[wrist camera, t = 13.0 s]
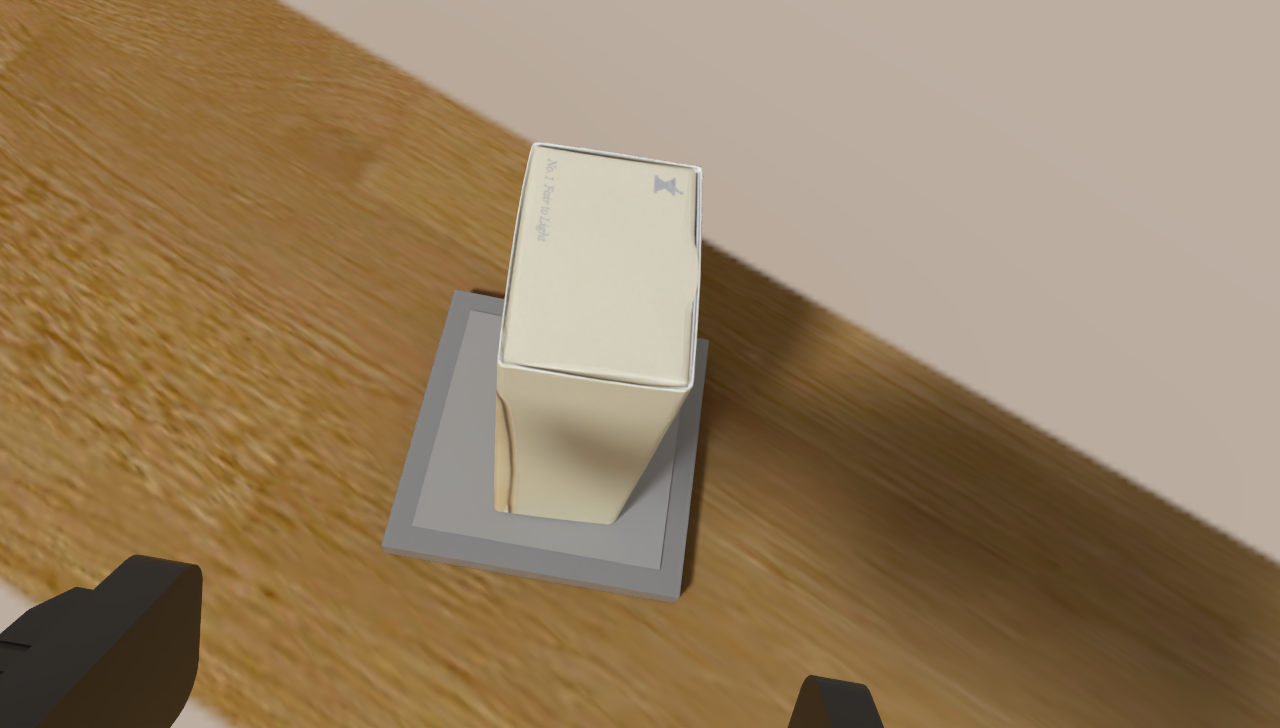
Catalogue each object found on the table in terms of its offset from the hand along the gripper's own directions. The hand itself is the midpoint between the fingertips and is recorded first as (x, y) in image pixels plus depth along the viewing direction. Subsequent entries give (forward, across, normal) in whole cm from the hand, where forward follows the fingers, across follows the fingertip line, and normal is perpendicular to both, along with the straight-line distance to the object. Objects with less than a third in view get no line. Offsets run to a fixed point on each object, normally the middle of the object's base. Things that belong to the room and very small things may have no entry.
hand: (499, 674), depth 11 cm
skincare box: (+18, 0, +5) cm, 19 cm away
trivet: (+19, 0, +5) cm, 20 cm away
